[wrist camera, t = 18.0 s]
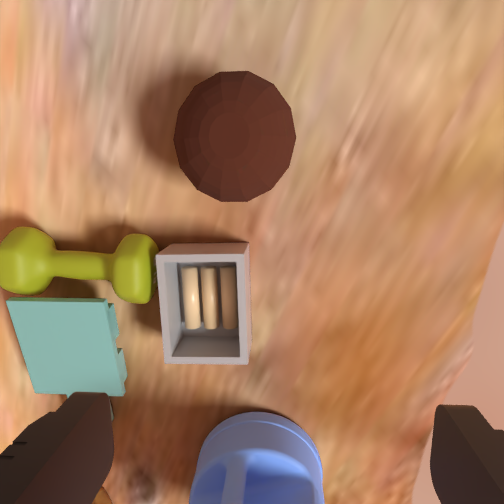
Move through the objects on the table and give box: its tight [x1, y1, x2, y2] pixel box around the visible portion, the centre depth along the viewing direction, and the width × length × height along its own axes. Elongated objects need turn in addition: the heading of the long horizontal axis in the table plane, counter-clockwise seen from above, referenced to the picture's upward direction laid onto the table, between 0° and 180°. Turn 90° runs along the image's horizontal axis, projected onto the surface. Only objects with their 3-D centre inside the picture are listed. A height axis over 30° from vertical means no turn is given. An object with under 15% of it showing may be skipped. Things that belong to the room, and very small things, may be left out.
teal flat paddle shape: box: [6, 297, 128, 421], centre depth 46 cm, size 19×11×3 cm, turn 1°
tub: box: [156, 242, 252, 364], centre depth 44 cm, size 12×9×6 cm
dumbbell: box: [0, 227, 159, 304], centre depth 43 cm, size 16×8×7 cm, turn 87°
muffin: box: [173, 71, 296, 202], centre depth 38 cm, size 12×11×10 cm
